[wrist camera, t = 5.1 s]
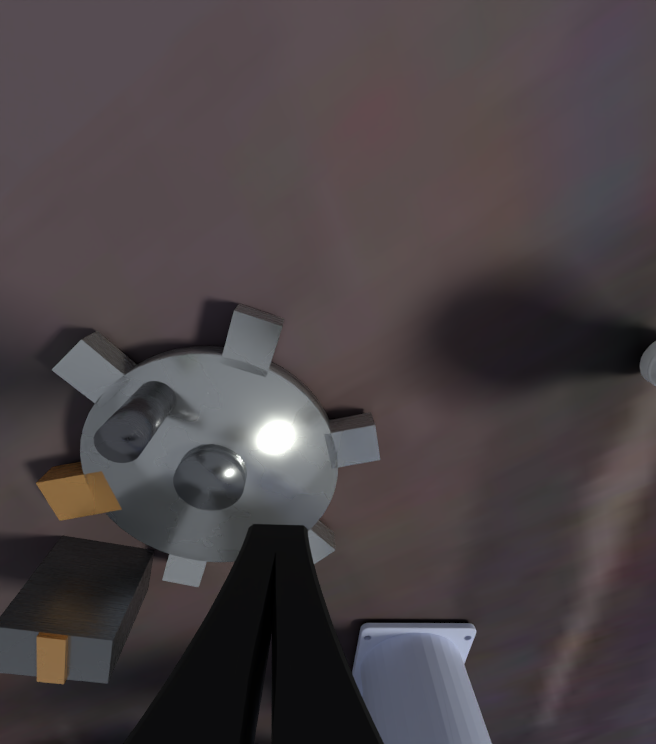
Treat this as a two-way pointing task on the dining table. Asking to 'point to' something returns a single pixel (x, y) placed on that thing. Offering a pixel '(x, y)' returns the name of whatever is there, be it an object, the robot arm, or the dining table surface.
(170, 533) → the sprocket
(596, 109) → the dining table surface
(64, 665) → the banded cube
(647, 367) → the lightbulb
